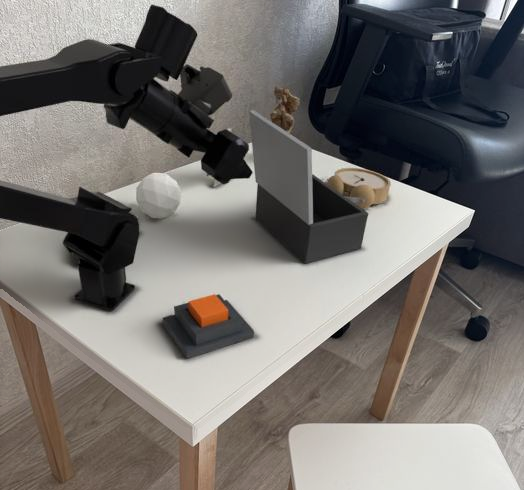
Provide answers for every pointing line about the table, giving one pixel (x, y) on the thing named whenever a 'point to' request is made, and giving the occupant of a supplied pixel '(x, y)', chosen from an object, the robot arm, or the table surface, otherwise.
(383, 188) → the alarm clock
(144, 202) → the geometric ball
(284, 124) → the figurine
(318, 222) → the open storage box
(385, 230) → the table surface
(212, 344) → the block
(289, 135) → the lid
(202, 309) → the button
